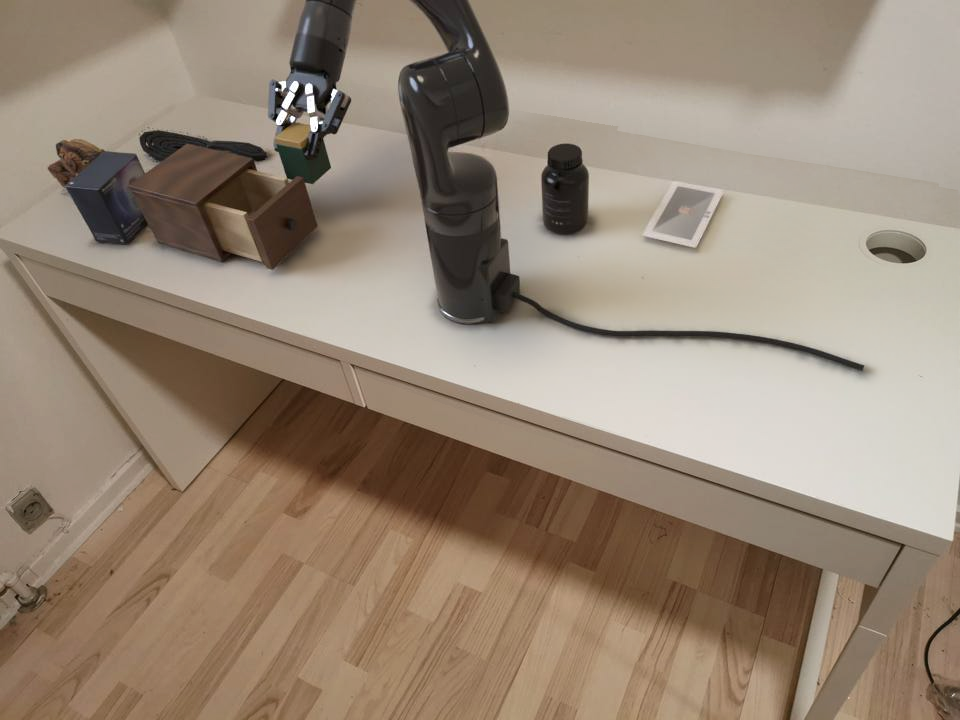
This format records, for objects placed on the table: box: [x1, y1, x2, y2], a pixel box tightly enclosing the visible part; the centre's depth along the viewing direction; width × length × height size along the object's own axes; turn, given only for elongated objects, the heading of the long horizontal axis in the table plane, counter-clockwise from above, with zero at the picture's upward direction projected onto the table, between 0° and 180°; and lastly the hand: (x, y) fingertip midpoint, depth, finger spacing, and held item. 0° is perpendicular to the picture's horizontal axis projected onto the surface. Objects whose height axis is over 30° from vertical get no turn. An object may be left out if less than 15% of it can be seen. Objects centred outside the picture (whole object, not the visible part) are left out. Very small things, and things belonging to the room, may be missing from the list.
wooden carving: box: [47, 138, 105, 189], centre depth 119 cm, size 16×5×10 cm, turn 70°
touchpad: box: [641, 180, 725, 249], centre depth 103 cm, size 8×15×2 cm, turn 152°
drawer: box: [202, 169, 319, 271], centre depth 105 cm, size 14×11×9 cm
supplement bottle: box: [540, 142, 590, 236], centre depth 102 cm, size 7×7×12 cm
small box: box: [64, 150, 148, 245], centre depth 112 cm, size 11×6×10 cm, turn 166°
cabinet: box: [128, 144, 258, 263], centre depth 109 cm, size 14×13×11 cm
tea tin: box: [273, 121, 332, 185], centre depth 107 cm, size 5×5×7 cm
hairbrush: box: [138, 127, 268, 162], centre depth 129 cm, size 8×4×25 cm
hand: (294, 155), depth 106 cm, fingers closed on tea tin, 5 cm apart
